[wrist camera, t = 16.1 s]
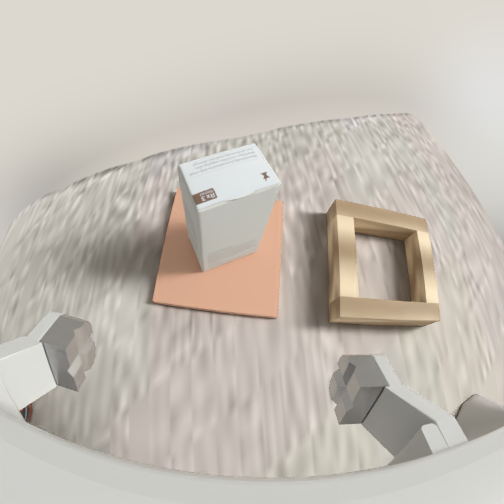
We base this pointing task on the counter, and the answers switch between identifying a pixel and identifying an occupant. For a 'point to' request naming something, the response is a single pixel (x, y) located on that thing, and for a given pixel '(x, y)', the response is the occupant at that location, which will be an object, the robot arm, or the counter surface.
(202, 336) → the counter surface
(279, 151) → the counter surface
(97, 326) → the counter surface
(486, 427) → the flask
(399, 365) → the counter surface
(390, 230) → the light wooden square frame
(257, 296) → the terracotta tile
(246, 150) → the skincare box
